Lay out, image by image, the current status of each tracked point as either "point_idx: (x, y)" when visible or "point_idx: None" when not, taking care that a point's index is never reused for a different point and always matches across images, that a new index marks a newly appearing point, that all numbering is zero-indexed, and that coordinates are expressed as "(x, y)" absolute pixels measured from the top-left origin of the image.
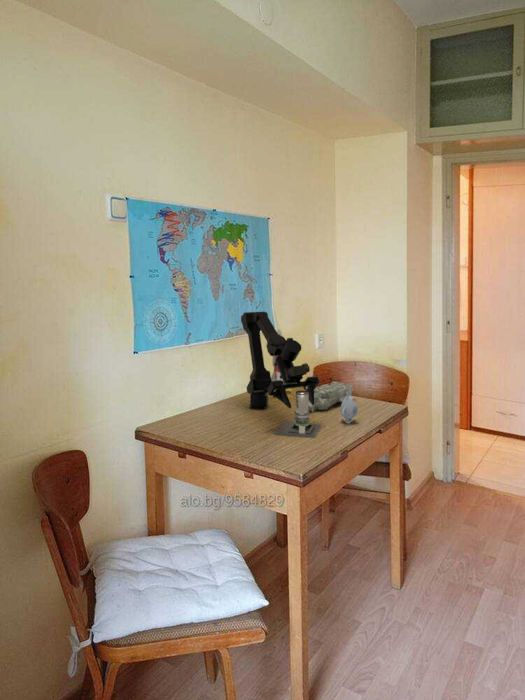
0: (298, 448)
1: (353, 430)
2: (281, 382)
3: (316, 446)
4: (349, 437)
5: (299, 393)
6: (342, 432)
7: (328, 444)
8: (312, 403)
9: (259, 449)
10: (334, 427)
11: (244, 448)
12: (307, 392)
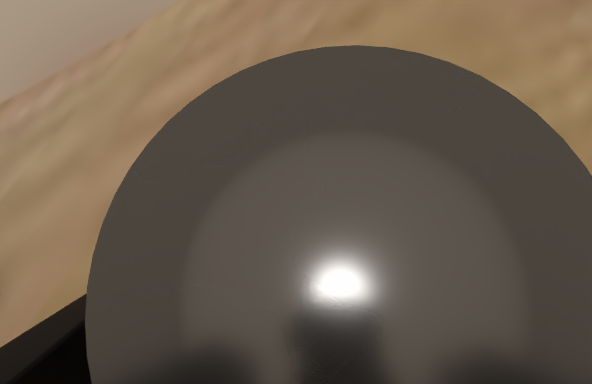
0: (552, 11)
1: (9, 175)
2: None
3: (412, 4)
4: (125, 71)
5: (547, 134)
6: (94, 170)
7: (319, 10)
8: None
9: None
10: (63, 294)
11: None
12: (187, 144)
